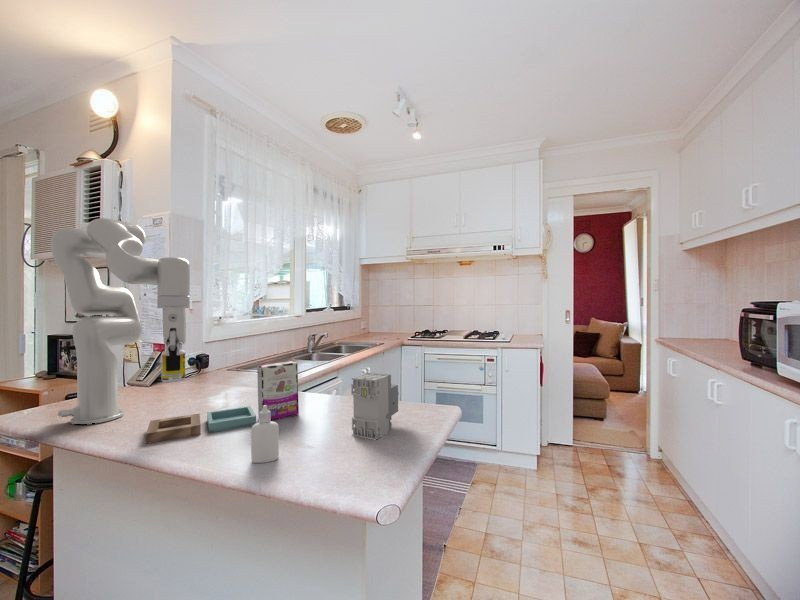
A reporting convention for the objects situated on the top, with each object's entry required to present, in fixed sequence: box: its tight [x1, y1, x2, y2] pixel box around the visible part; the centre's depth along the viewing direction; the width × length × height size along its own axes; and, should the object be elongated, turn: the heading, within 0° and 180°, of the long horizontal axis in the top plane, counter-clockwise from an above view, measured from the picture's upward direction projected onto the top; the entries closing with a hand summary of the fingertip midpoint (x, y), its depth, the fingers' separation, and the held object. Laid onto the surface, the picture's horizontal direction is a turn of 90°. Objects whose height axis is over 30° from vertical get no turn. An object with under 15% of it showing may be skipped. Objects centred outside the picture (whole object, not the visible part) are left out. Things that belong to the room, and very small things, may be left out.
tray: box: [206, 405, 257, 434], centre depth 105 cm, size 12×12×2 cm
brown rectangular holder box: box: [145, 413, 202, 445], centre depth 98 cm, size 12×12×2 cm
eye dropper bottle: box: [250, 405, 280, 464], centre depth 79 cm, size 4×6×12 cm
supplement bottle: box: [160, 342, 186, 384], centre depth 98 cm, size 6×6×10 cm
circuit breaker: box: [350, 372, 399, 440], centre depth 98 cm, size 8×14×15 cm, turn 155°
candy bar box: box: [256, 360, 300, 421], centre depth 110 cm, size 11×5×16 cm, turn 129°
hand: (173, 367), depth 98 cm, fingers closed on supplement bottle, 5 cm apart
